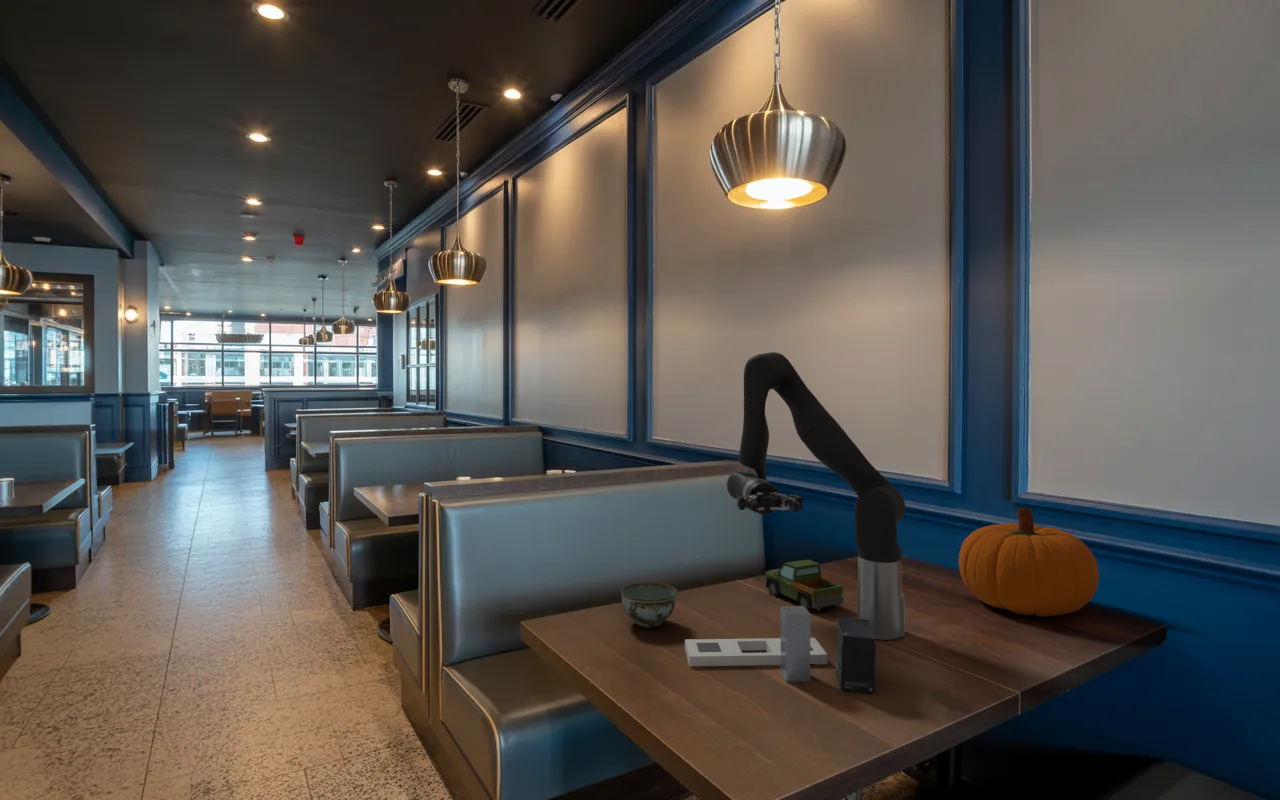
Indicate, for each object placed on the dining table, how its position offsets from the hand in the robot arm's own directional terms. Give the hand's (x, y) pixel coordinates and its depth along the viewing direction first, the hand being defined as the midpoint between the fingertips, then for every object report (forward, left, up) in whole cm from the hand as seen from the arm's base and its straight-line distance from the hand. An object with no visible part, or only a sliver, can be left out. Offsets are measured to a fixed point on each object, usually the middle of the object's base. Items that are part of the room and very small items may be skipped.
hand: (776, 507), depth 145 cm
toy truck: (-14, -29, -30) cm, 44 cm away
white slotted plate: (+6, +6, -30) cm, 31 cm away
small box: (-11, +18, -30) cm, 37 cm away
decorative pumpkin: (-69, -23, -30) cm, 79 cm away
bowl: (+27, -14, -30) cm, 43 cm away
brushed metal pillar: (0, +16, -30) cm, 34 cm away
